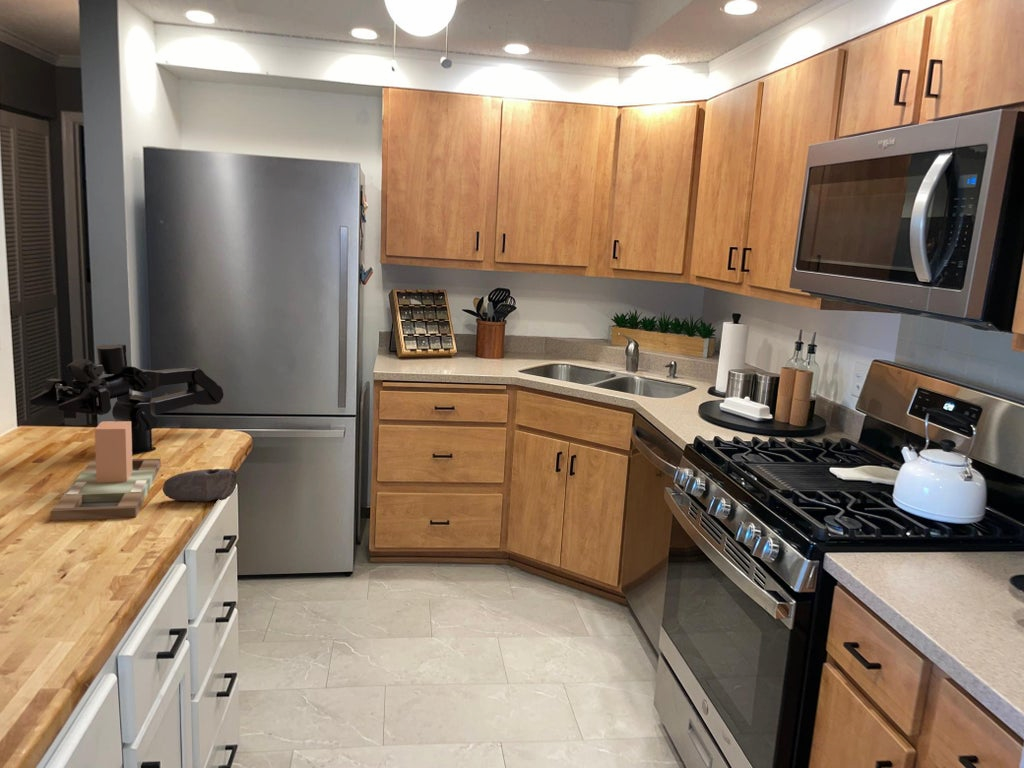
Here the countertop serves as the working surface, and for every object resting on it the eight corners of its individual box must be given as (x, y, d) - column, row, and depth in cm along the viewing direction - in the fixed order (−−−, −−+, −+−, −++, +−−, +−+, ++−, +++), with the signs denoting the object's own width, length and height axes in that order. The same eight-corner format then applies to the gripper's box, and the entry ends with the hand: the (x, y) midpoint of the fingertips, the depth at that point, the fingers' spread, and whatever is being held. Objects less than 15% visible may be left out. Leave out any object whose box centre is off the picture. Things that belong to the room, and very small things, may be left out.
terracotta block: (103, 472, 172) (101, 421, 170) (132, 471, 174) (131, 421, 171) (96, 482, 165) (94, 429, 163) (126, 481, 167) (125, 428, 165)
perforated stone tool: (160, 505, 160) (159, 473, 159) (165, 497, 165) (164, 466, 164) (235, 504, 164) (235, 473, 162) (237, 496, 169) (237, 466, 167)
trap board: (92, 467, 181) (92, 459, 180) (160, 466, 185) (160, 457, 185) (51, 520, 148) (50, 510, 147) (135, 517, 152) (135, 506, 152)
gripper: (73, 352, 186) (11, 365, 173) (128, 361, 180) (68, 376, 166) (78, 395, 189) (18, 412, 176) (132, 406, 182) (74, 424, 169)
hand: (43, 405), depth 171 cm, fingers open, 9 cm apart
